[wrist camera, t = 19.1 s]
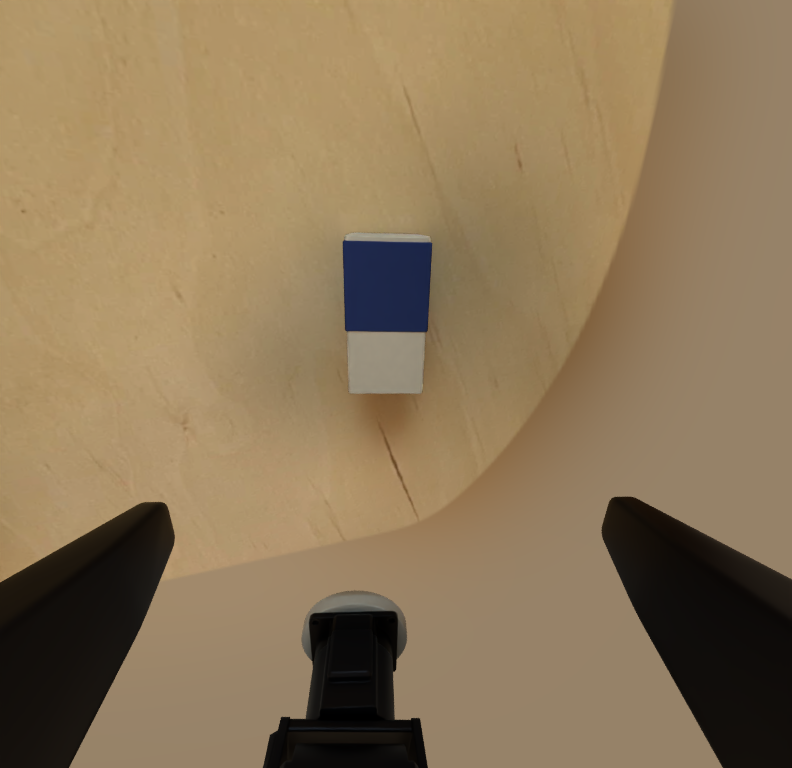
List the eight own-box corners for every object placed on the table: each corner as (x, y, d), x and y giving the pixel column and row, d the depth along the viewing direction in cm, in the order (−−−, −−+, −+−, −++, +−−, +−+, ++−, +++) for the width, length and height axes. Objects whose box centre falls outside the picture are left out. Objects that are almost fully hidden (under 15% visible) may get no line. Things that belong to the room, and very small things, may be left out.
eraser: (414, 362, 19) (424, 395, 16) (353, 361, 19) (346, 395, 15) (420, 233, 17) (432, 236, 13) (350, 232, 17) (342, 234, 13)
